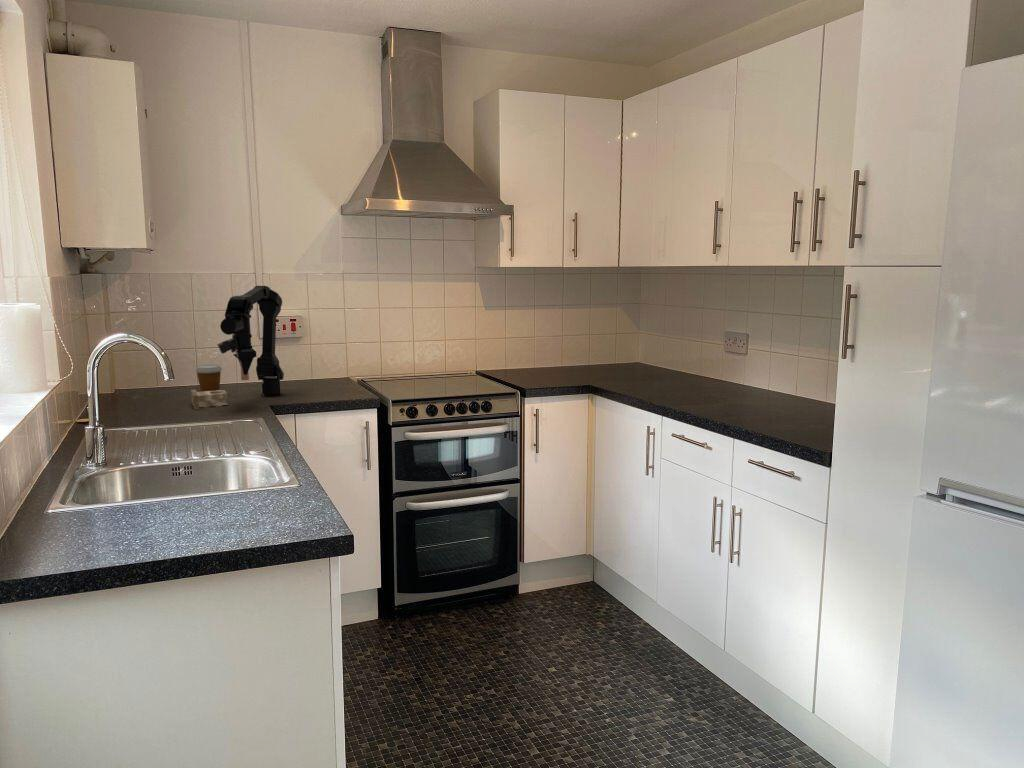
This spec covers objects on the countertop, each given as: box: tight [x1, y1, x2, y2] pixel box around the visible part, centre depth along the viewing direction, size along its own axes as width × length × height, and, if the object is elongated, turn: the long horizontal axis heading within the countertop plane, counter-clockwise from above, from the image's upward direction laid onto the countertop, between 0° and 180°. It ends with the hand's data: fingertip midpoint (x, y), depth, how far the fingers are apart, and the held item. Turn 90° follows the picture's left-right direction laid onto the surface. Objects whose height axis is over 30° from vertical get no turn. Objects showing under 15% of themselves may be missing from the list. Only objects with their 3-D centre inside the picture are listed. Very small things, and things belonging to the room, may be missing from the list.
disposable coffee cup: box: [195, 364, 222, 392], centre depth 295 cm, size 10×10×12 cm
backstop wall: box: [190, 389, 200, 410], centre depth 277 cm, size 2×13×5 cm, turn 27°
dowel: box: [239, 361, 250, 381], centre depth 275 cm, size 3×3×8 cm
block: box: [196, 389, 229, 408], centre depth 280 cm, size 10×8×4 cm
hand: (244, 374), depth 276 cm, fingers closed on dowel, 3 cm apart
